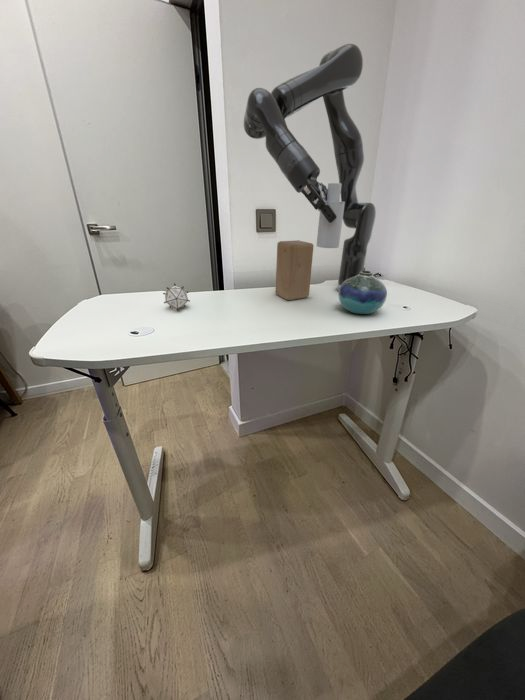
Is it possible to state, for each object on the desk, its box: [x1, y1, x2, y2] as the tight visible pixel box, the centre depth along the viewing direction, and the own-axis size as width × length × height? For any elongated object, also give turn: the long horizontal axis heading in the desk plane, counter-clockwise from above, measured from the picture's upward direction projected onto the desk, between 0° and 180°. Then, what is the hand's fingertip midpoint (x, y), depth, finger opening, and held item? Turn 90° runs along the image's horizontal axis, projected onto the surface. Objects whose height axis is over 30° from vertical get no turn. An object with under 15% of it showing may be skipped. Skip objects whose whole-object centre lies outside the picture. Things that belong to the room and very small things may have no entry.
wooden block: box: [274, 240, 315, 301], centre depth 109 cm, size 10×10×20 cm
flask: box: [316, 182, 345, 249], centre depth 76 cm, size 6×6×15 cm
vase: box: [338, 270, 388, 315], centre depth 96 cm, size 15×15×13 cm
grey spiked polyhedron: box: [162, 283, 191, 312], centre depth 96 cm, size 9×8×10 cm
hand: (337, 219), depth 76 cm, fingers closed on flask, 6 cm apart
